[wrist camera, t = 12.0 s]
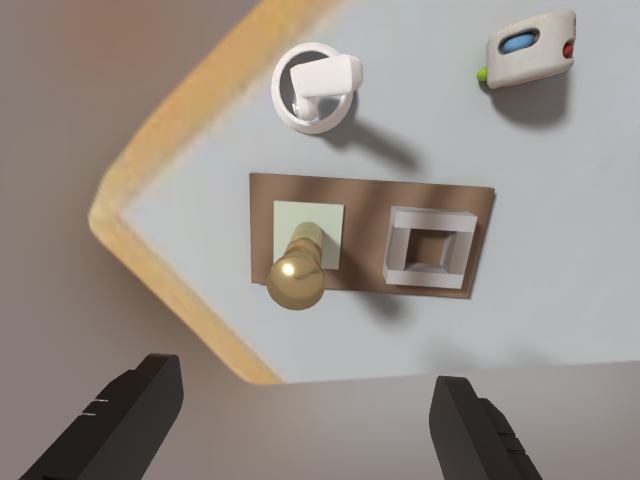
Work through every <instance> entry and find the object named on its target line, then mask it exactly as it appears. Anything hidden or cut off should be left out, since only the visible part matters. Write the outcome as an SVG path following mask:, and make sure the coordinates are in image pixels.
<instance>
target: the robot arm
mask: <svg viewBox="0 0 640 480" xmlns="http://www.w3.org/2000/svg"><path fill="white" fill-rule="evenodd" d="M183 396H184V393H183V384H182V377H181V369H180V362H179V358H178V356H177V355H172V354H158V353H151V354H149V355H148V356H147V357H146V358H145V359H144V360H143V361H142V362H141V363H140V364H139V366H138V367H137V368H136V369H135V370H128V371H126V372H125V373H123V374H122V375H120V376H119V377H117V378H116V379H114V380H113V381H111V382H110V383H109V384H108V385H107V386H106V387H105V388H104V389H103V390H102V391H101V392H100V394H99V395H98V396H97V397H96V398H95V401H94V402H91V403H90V404H89V405H88V406H87V408H85V410H84V411H83V412H82V415H81V416H78V417H77V418H76V419H75V420H74V421H73V423H71V425H70V426H69V427H68V428H67V429H66V430H65V431H64V432H63V433H62V434H61V435H60V436H59V437H58V438H57V440H56V441H55V442H54V443H53V444H52V445H51V446H50V447H49V448H48V449H47V450H46V451H45V453H44V454H43V455H42V456H41V457H40V458H39V459H38V460H37V461H36V462H35V463H34V464H33V465H32V466H31V467H30V468H29V470H28V471H27V472H26V473H25V474H24V475H23V476H22V477H21V478H20V479H19V480H141V479H142V477H143V475H144V473H145V472H146V470H147V468H148V466H149V465H150V463H151V461H152V459H153V458H154V456H155V454H156V453H157V451H158V449H159V447H160V446H161V444H162V442H163V440H164V439H165V437H166V435H167V433H168V431H169V430H170V428H171V427H172V425H173V423H174V421H175V420H176V418H177V416H178V414H179V412H180V409H181V406H182V403H183ZM429 427H430V433H431V438H432V440H433V444H434V447H435V450H436V454H437V457H438V460H439V462H440V466H441V469H442V473H443V476H444V479H445V480H542V478H541V477H540V474H539V473H538V471H537V470H536V468H535V466H534V465H533V463H532V461H531V460H530V458H529V456H528V455H526V453H525V450H524V448H523V447H522V445H521V443H520V441H519V440H518V438H516V437H515V433H514V431H513V430H512V428H511V426H510V425H509V423H508V421H507V420H506V418H505V416H504V415H503V414H502V413H501V412H500V411H499V410H498V409H497V408H496V407H495V406H494V405H493V404H492V403H491V402H490V401H489V400H488V399H485V398H478V397H477V395H476V393H475V391H474V390H473V388H472V386H471V384H470V382H469V381H468V380H467V379H466V378H464V377H450V376H438V378H437V381H436V385H435V390H434V394H433V399H432V404H431V408H430V413H429Z"/></svg>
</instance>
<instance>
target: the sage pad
mask: <svg viewBox="0 0 640 480" xmlns="http://www.w3.org/2000/svg"><path fill="white" fill-rule="evenodd" d="M343 208H344V205H338V204H323V203H307V202H291V201H276V200H274V263H275V262H276V261H277V260H278V259H279V258H281V257H283V254H284V252H285V250H286V248H287V246H288V243H289V241H290V239H291V237H292V234H293V232H294V230H295V228H296V227H297V226H298V225H299V224H301V223H303V222H313V223H315V224H317V225H318V226H319V227H320V228H321V229H322V231H323V234H324V241H323V251H322V261H321V267H322V268H323V269H338V268H339V256H340V244H341V232H342V220H343Z"/></svg>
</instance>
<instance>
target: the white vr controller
mask: <svg viewBox="0 0 640 480" xmlns="http://www.w3.org/2000/svg"><path fill="white" fill-rule="evenodd" d="M308 51H315V52H319V53H322V54H324V55H326V56H328V57H329V58H325V59H320V60H316V61H312V62H308V63H304V64H297V65H296V66H294V67H293V68H291V69H290V71H291V79H292V83H293V87H294V90H295V93H296V97H297V105H298V106H296V105H295V104H292V106H293V110H294V114H295V115H297V112H298V111H299V113H300V115H301V116H302V118H303V120H304V121H302V120H300V119H298V118H296V117H294V116H293V115H292V114H291V113H290V112H289V111H288V110H287V109H286V107H285V105H284V104H283V101H282V98H281V95H280V78H281V75H282V72H283V69H284V68H285V66H286V64H287V63H288V62H289V61H290V60H291V59H292V58H294V57H295V56H296V55H298V54H301V53H303V52H308ZM362 81H363V67H362V64H361V62H360V60H359V59H358V58H356V57H354V56H351V55H345V54H343V55H340V54H339V53H338V52H337V51H335V50H334V49H332V48H331V47H329V46H327V45H324V44H320V43H305V44H301V45H298V46H296V47H294V48H292V49H291V50H289V51H288V52H287V53H286V54H285V55H284V56H283V57H282V58H281V59H280V61H279V63H278V64H277V66H276V68H275V71H274V73H273V77H272V83H271V93H272V99H273V103H274V106H275V108H276V111H277V112H278V114H279V116H280V117H281V118H282V120H283V121H284V122H285V123H286V124H287V125H289V126H290V127H291V128H293V129H295V130H297V131H299V132H302V133H306V134H319V133H323V132H326V131H329V130H331V129H332V128H334V127H335V126H337V125H338V124H339V123H340V122H341V121H342V120H343V118H344V117H345V116H346V114H347V112H348V110H349V108H350V106H351V103H352V99H353V91H355V90H357V89H358V88H359V87H360V86H361V84H362ZM337 95H342V98H341V101H340V103H339V105H338V107H337V108H336V110H335V111H334V112H333V113H332V114H331V115H330V116H328V117H327V118H325V119H323V120H320V121H316V122H306V121H312V120H314V119H315V118H317V117H318V116H319V114H318V109H317V105H316V100H315V97H322V96H337Z"/></svg>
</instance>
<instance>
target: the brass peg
mask: <svg viewBox="0 0 640 480" xmlns="http://www.w3.org/2000/svg"><path fill="white" fill-rule="evenodd" d="M323 241H324V234H323V231H322V229H321V228H320V227H319V226H318V225H317V224H315V223H313V222H303V223H301V224H299V225H298V226H297V227H296V228H295V230H294V232H293V234H292V237H291V239H290V241H289V243H288V246H287V248H286V250H285V252H284V254H283V257H281V258H279V259H278V260H277V261H276V262H275V263H274V264H273V266H272V268H271V269H270V272H269V274H268V277H267V289H268V292H269V294H270V296H271V297H272V299H273V300H274V301H275V302H276V303H277V304H279V305H280V306H282V307H284V308H287V309H290V310H304V309H307V308H310V307H312V306H313V305H315V304H316V303H317V302H318V301H319V300H320V299H321V297H322V295H323V293H324V289H325V275H324V271H323V269H322V267H321V261H322V251H323Z"/></svg>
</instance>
